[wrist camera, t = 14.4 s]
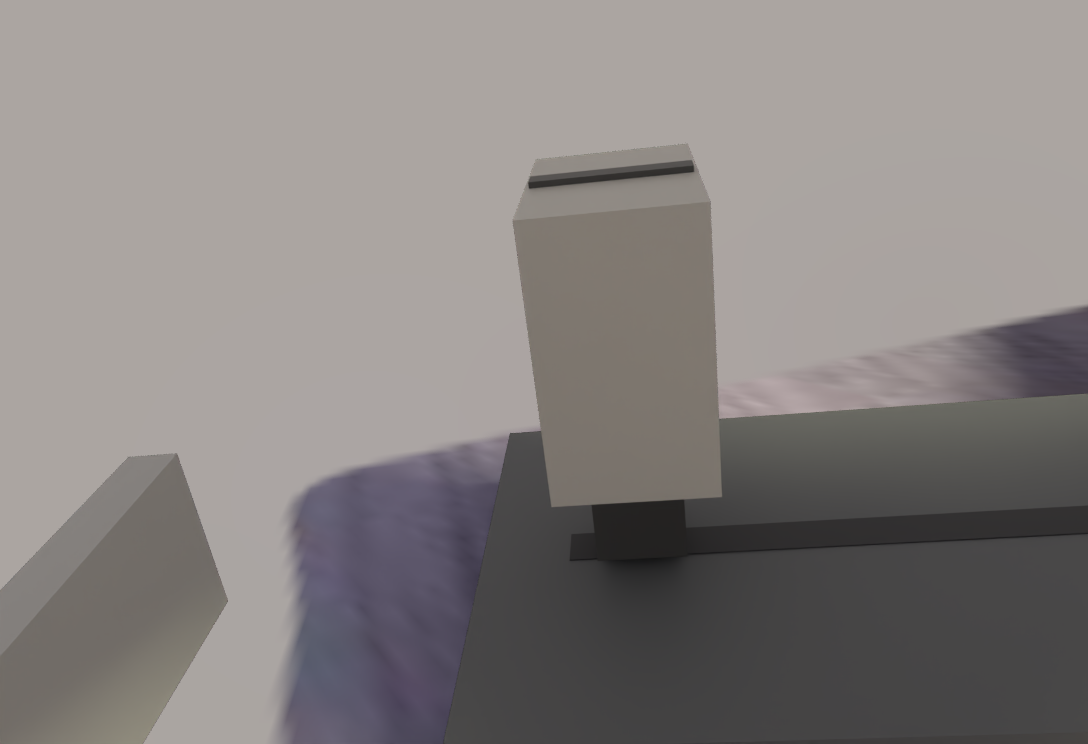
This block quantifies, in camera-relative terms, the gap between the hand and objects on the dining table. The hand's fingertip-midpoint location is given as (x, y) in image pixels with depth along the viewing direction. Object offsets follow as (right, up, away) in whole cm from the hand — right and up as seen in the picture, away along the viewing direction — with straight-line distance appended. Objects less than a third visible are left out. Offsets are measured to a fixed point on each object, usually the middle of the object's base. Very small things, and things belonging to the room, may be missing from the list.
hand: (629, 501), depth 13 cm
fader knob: (+1, -3, +12) cm, 12 cm away
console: (+10, -5, +13) cm, 17 cm away
